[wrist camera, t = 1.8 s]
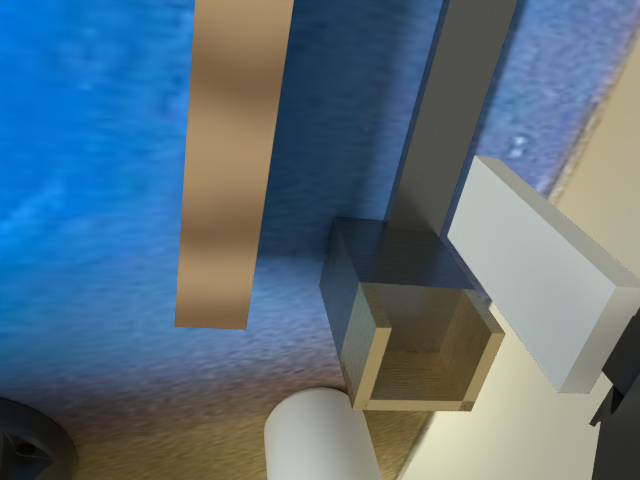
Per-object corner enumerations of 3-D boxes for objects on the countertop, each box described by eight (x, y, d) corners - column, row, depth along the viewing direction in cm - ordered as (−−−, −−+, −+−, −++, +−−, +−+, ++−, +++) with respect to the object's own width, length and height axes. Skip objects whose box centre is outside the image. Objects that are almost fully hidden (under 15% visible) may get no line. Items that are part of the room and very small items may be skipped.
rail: (242, 256, 37) (246, 329, 31) (183, 252, 37) (174, 326, 30) (309, -262, 24) (342, -338, 17) (221, -289, 23) (219, -379, 16)
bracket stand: (412, 298, 41) (473, 419, 31) (317, 292, 40) (349, 418, 30) (590, -250, 26) (830, -367, 16) (447, -298, 24) (611, -465, 14)
